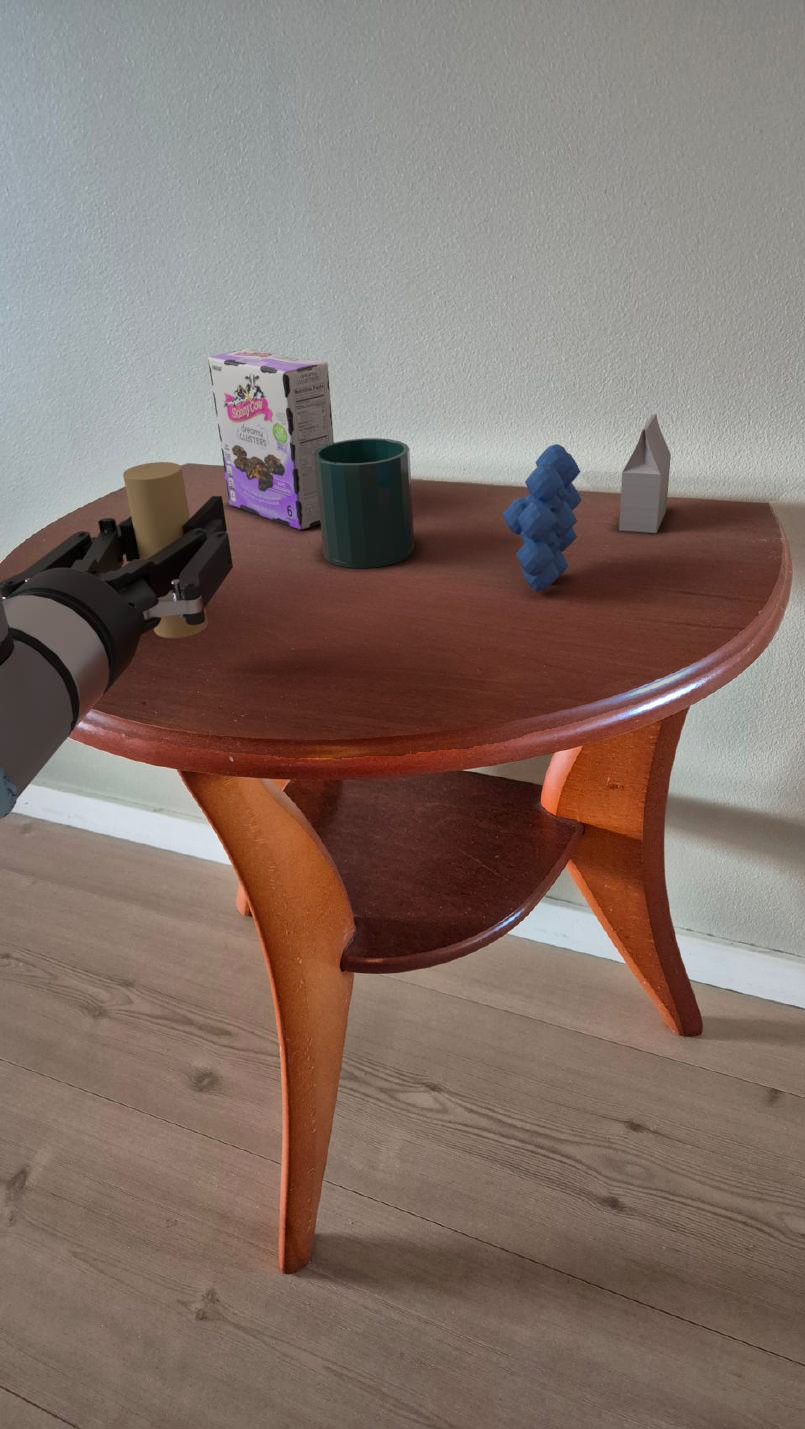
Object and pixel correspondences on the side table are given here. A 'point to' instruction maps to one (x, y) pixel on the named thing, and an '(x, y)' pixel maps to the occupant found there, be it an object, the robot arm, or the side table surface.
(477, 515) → the side table surface
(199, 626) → the tan cylinder
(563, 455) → the grapes
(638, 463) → the grey milk carton
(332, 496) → the dark green cup
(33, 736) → the robot arm
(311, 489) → the candy box
